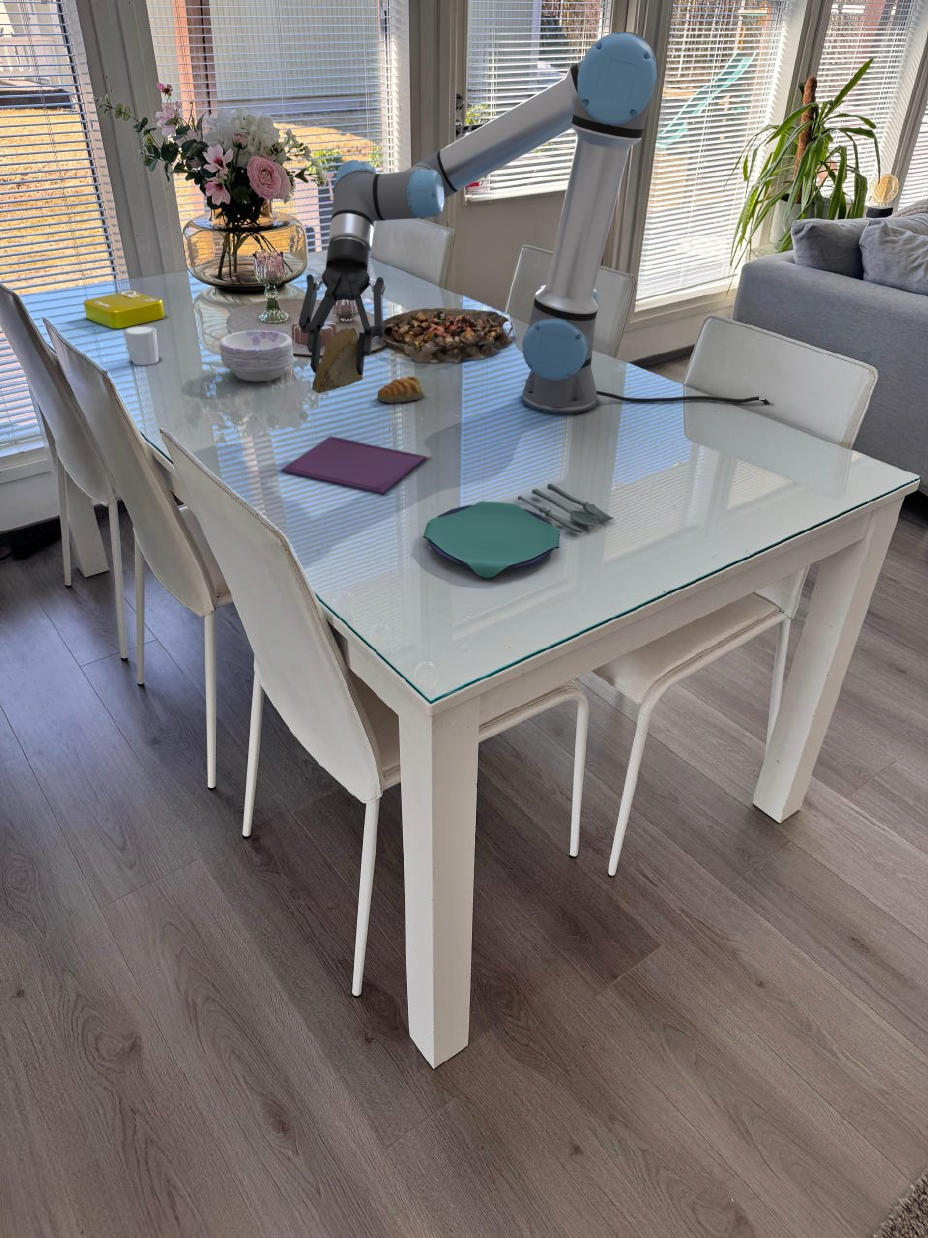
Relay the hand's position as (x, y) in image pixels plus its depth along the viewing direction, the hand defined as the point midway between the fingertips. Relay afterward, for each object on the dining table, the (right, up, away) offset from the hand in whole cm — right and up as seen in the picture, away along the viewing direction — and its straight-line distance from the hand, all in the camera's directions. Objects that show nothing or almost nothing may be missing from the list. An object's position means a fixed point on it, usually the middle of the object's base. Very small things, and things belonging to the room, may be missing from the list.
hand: (336, 370), depth 152 cm
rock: (-1, -1, +5) cm, 5 cm away
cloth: (+3, -15, +5) cm, 16 cm away
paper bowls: (-23, +11, +42) cm, 49 cm away
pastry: (+9, +3, +33) cm, 34 cm away
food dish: (+18, +25, +65) cm, 72 cm away
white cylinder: (-50, +15, +49) cm, 71 cm away
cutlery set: (+30, -30, -15) cm, 45 cm away
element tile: (-65, +34, +76) cm, 105 cm away
